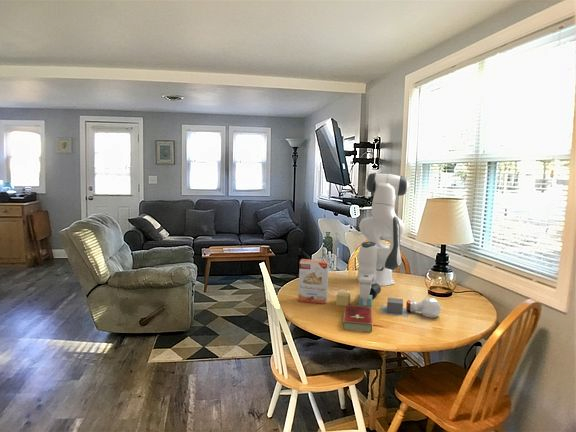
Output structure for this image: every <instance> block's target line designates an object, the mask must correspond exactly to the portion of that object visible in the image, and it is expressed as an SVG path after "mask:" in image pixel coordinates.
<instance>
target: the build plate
mask: <svg viewBox="0 0 576 432" xmlns="http://www.w3.org/2000/svg"><path fill="white" fill-rule="evenodd" d="M380 310H381V311H380V314H381V315H382V314H383V315H387V316H390V315H391V316H397V317H405V318H408V317H409V312H407V311H406V307H403V311H402V314H396V313H387V305H381V309H380Z"/></svg>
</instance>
